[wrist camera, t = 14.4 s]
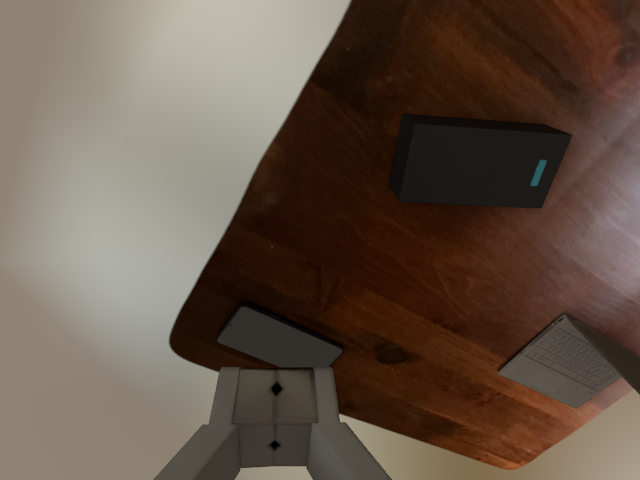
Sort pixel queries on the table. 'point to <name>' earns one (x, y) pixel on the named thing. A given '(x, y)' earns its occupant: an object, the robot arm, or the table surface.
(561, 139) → the black power bank
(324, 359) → the smartphone
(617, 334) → the table surface
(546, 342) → the laptop
